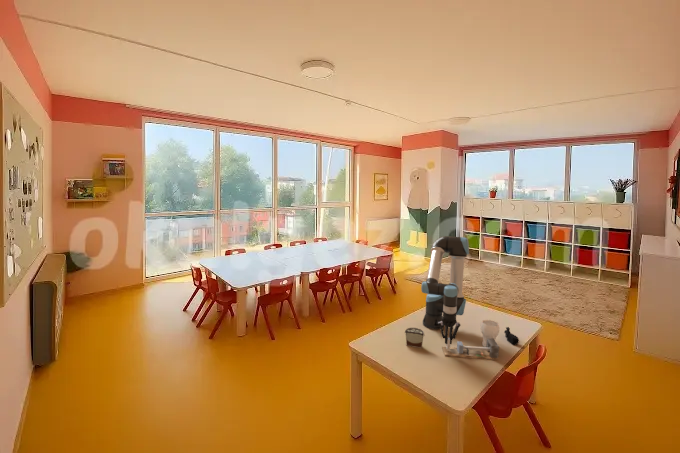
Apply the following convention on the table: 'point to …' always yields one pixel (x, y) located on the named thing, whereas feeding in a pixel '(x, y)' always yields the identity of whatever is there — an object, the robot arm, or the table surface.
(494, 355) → the gauge bed
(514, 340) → the toy
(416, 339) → the food container
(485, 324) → the cup
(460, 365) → the table surface
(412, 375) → the table surface
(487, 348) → the grey hammer
